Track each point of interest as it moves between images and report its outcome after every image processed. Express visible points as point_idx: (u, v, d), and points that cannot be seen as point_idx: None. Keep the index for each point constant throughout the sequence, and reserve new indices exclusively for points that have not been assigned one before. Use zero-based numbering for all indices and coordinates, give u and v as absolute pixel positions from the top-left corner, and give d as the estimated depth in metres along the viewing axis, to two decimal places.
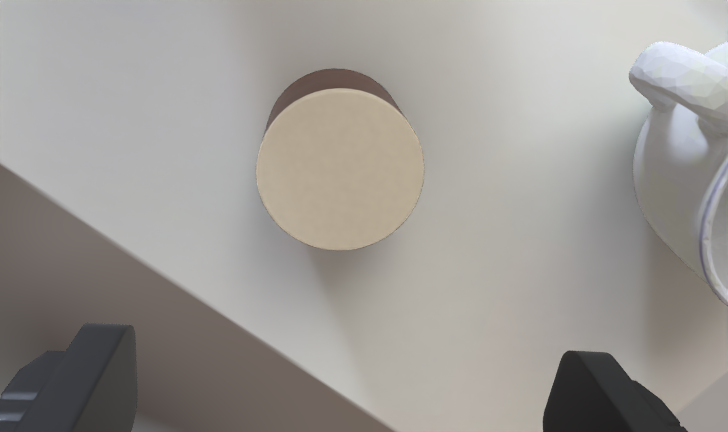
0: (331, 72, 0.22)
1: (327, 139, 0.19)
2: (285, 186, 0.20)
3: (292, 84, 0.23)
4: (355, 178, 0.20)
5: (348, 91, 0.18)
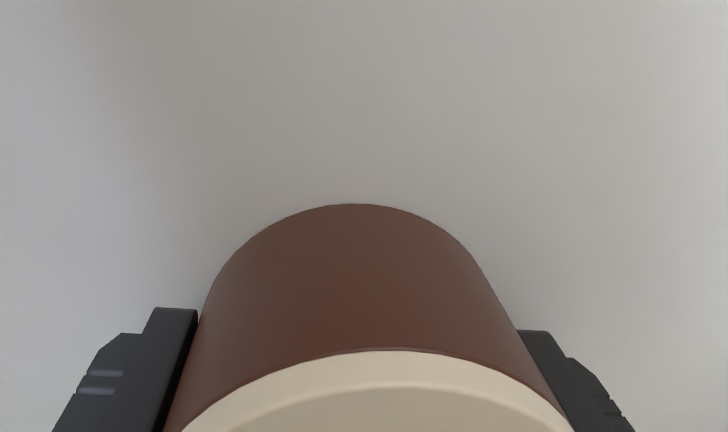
0: (344, 225, 0.09)
1: None
2: None
3: (253, 241, 0.10)
4: None
5: (407, 381, 0.06)
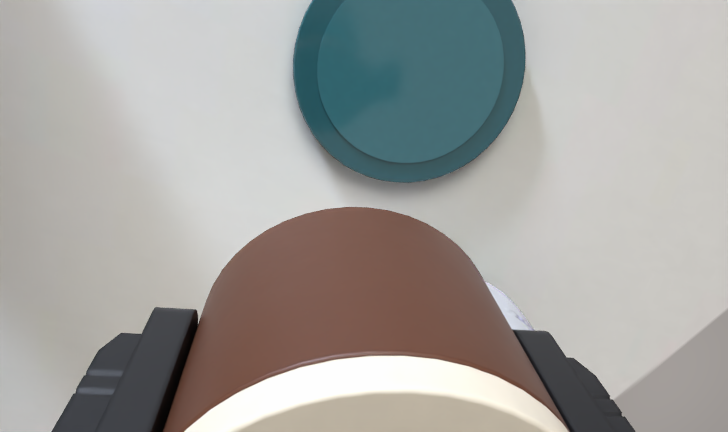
0: (342, 228, 0.09)
1: None
2: None
3: (253, 245, 0.10)
4: None
5: (404, 386, 0.06)
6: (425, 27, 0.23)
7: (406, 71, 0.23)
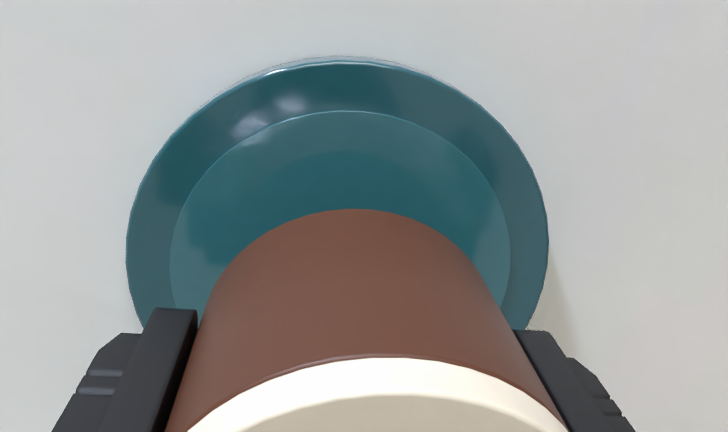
0: (343, 230, 0.09)
1: None
2: None
3: (253, 246, 0.10)
4: None
5: (405, 388, 0.06)
6: (368, 207, 0.12)
7: None
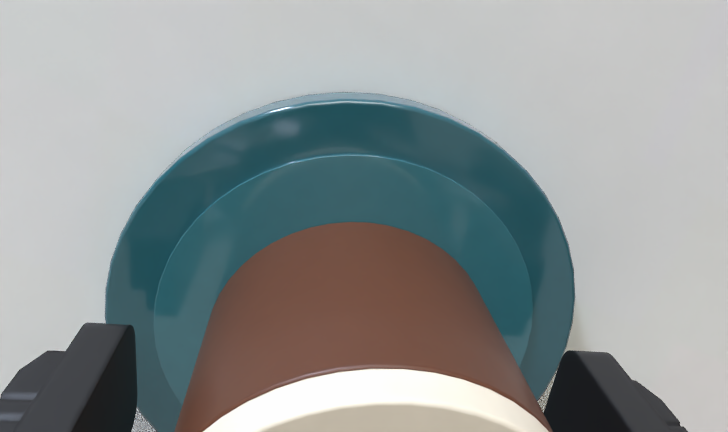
0: (344, 243, 0.10)
1: None
2: None
3: (258, 257, 0.10)
4: None
5: (403, 398, 0.06)
6: None
7: None
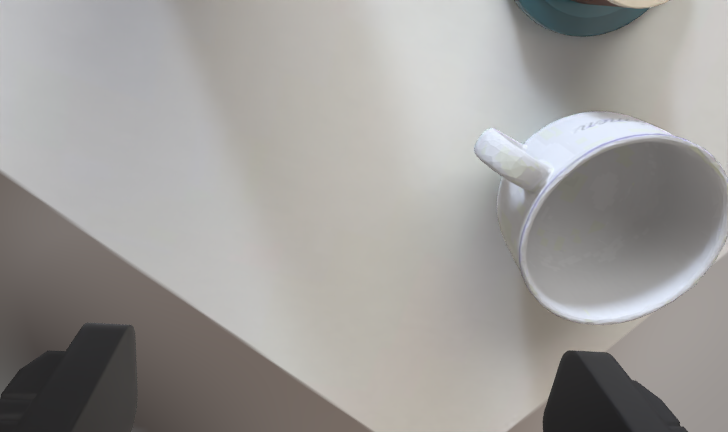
0: None
1: None
2: None
3: None
4: None
5: None
6: None
7: None
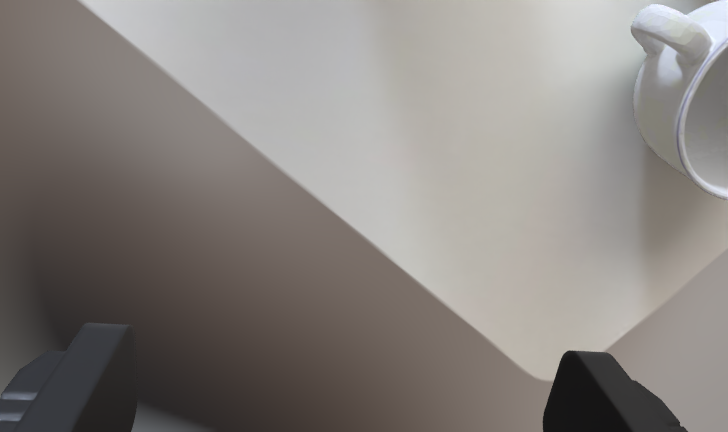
0: None
1: None
2: None
3: None
4: None
5: None
6: None
7: None
